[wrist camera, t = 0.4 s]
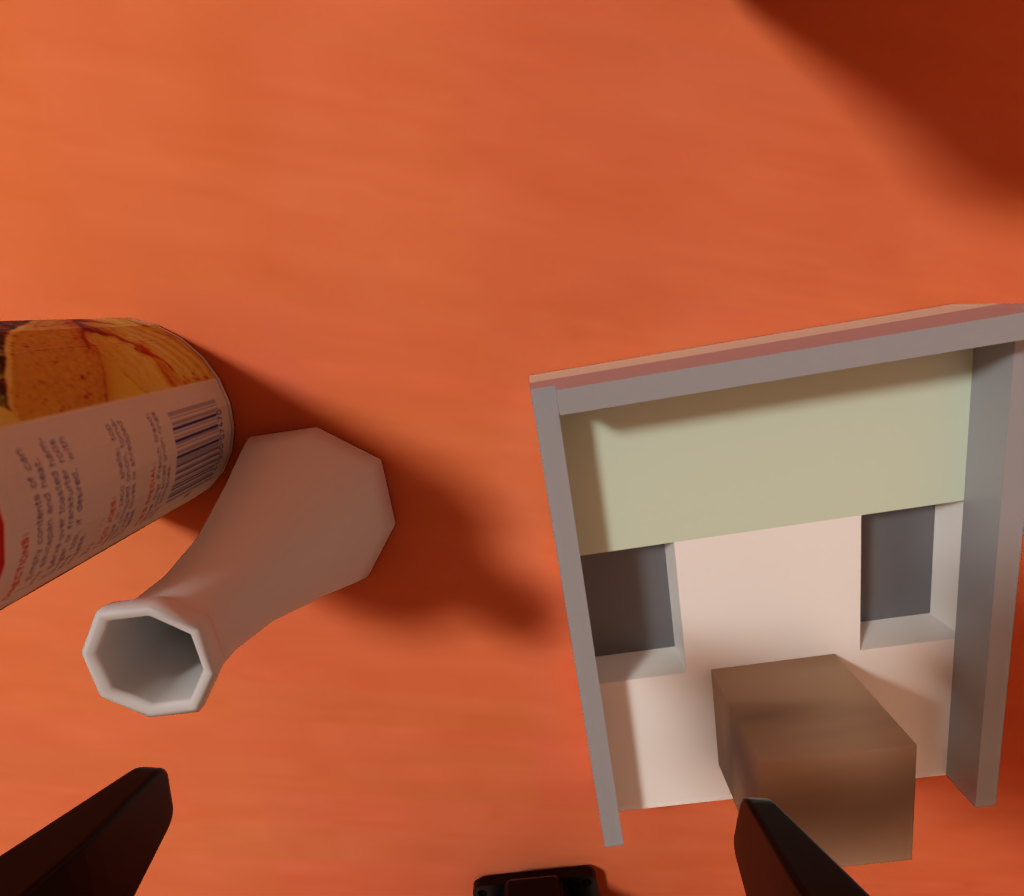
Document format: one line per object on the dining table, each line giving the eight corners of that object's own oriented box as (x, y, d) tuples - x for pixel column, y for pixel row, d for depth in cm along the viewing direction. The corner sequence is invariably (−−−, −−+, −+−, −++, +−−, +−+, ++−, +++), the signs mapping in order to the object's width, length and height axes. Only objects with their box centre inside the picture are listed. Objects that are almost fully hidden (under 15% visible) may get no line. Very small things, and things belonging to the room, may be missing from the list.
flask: (407, 440, 21) (309, 553, 11) (388, 594, 23) (290, 803, 13) (231, 410, 21) (-22, 498, 11) (226, 567, 23) (7, 760, 13)
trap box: (929, 735, 24) (1018, 829, 20) (594, 774, 25) (608, 871, 21) (952, 304, 19) (1079, 303, 15) (529, 375, 20) (530, 394, 16)
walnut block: (835, 751, 22) (911, 859, 18) (718, 764, 22) (765, 874, 18) (834, 653, 21) (916, 744, 16) (710, 669, 21) (759, 763, 17)
